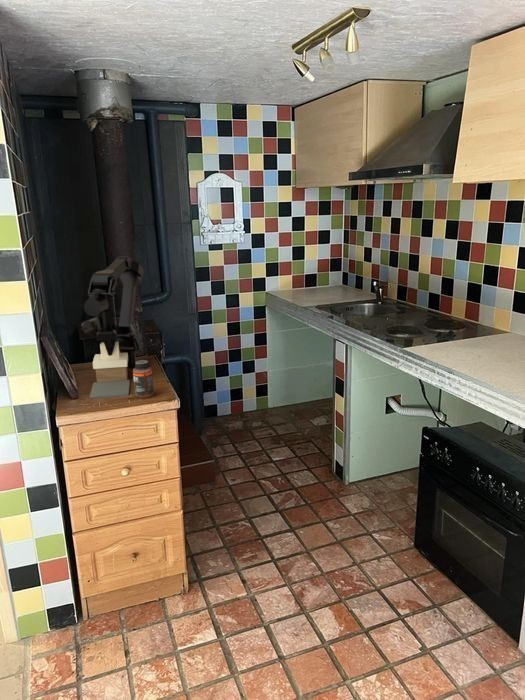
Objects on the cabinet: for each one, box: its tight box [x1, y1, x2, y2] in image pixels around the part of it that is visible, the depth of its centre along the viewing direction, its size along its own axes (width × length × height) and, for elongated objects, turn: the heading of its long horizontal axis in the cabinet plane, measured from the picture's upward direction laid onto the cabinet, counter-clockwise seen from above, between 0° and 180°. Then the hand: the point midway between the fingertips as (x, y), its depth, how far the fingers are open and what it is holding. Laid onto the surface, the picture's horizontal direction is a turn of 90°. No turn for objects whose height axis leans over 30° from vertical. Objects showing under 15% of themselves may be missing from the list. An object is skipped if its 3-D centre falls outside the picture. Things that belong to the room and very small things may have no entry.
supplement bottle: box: [132, 359, 155, 399], centre depth 172 cm, size 6×6×11 cm
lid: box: [92, 341, 128, 370], centre depth 187 cm, size 9×11×8 cm
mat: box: [89, 379, 131, 400], centre depth 179 cm, size 14×12×1 cm
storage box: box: [95, 367, 129, 382], centre depth 189 cm, size 8×10×5 cm
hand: (110, 354), depth 187 cm, fingers closed on lid, 3 cm apart
